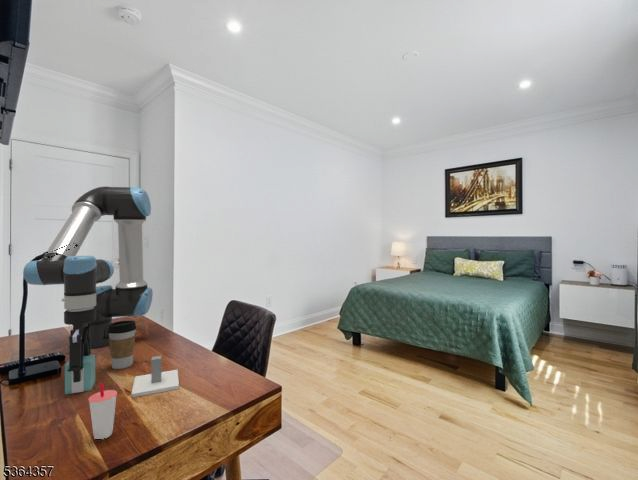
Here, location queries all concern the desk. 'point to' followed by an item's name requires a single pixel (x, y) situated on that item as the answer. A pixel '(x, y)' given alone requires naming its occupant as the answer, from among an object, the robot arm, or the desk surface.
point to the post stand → (155, 380)
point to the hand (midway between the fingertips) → (80, 386)
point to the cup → (102, 412)
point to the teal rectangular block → (88, 374)
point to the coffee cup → (122, 343)
